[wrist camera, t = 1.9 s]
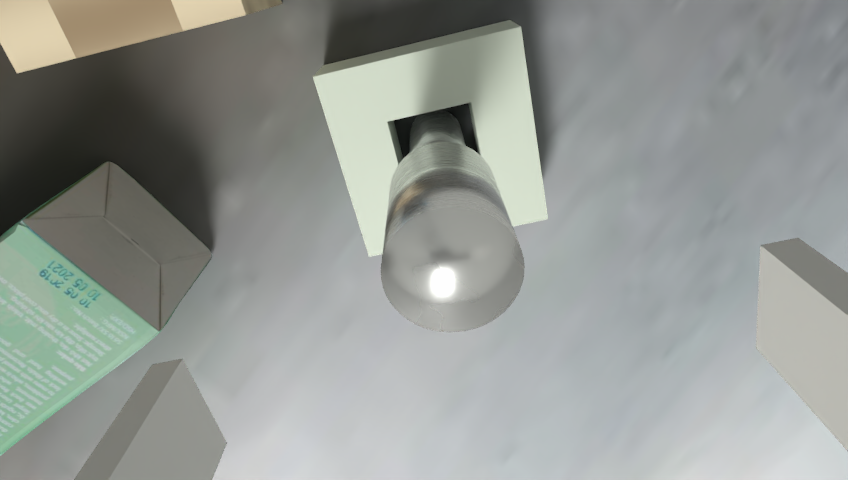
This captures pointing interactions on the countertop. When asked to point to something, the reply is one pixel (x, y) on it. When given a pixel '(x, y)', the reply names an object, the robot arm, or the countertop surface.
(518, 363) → the countertop surface
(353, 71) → the stand
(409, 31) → the countertop surface
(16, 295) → the box
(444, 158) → the silver peg
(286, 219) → the countertop surface
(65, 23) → the block
